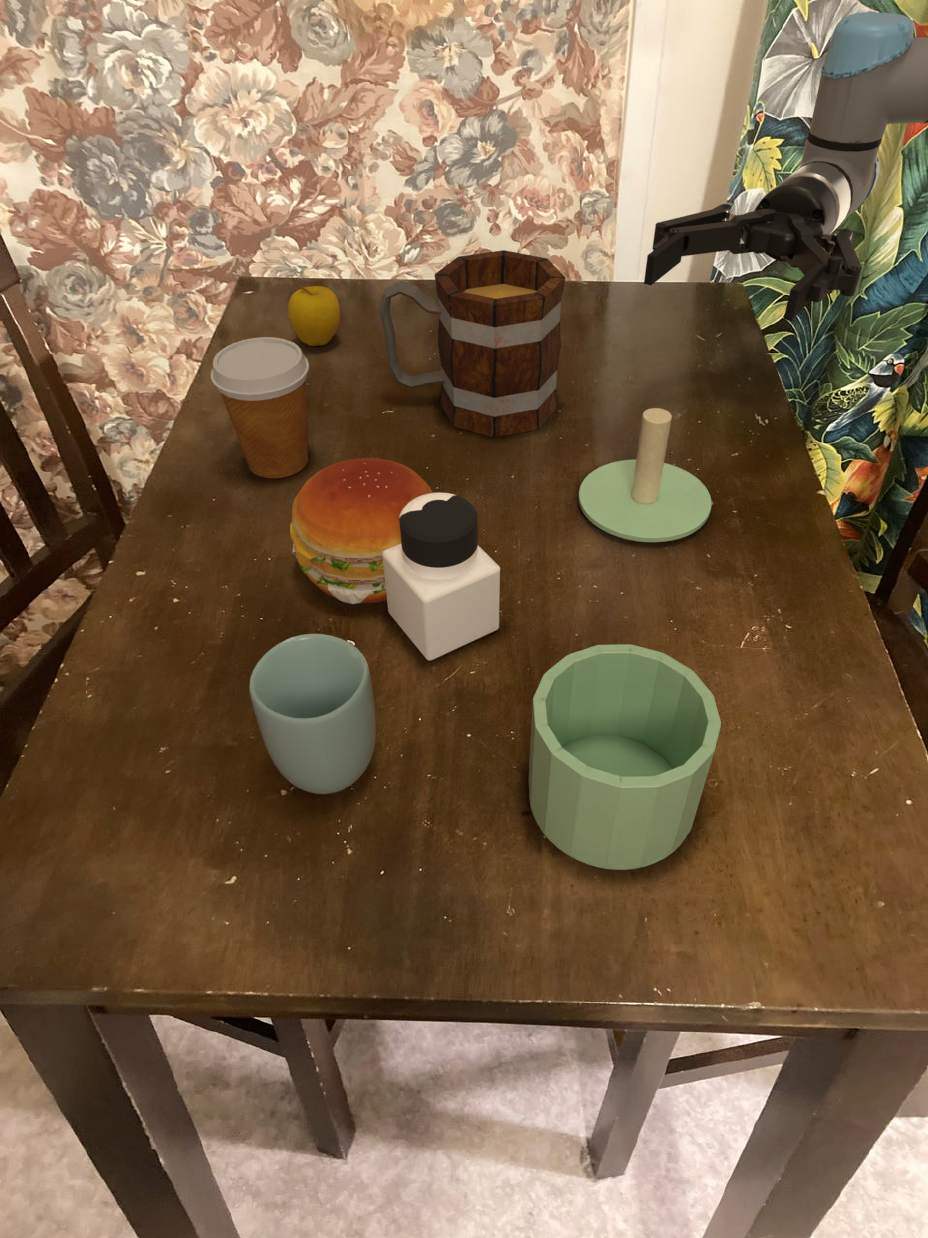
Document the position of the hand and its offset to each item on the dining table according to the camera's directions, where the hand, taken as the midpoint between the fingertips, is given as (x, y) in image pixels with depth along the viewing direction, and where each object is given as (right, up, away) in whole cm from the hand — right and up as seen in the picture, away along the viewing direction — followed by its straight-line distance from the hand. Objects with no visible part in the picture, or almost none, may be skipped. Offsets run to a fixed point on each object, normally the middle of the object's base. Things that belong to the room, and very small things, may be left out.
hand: (717, 287), depth 78 cm
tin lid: (-5, -18, +7) cm, 20 cm away
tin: (-12, -42, -17) cm, 47 cm away
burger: (-32, -25, +2) cm, 41 cm away
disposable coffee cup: (-43, -13, +14) cm, 47 cm away
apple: (-41, +5, +33) cm, 53 cm away
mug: (-22, -5, +22) cm, 31 cm away
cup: (-33, -41, -14) cm, 54 cm away
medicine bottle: (-25, -30, -4) cm, 39 cm away
